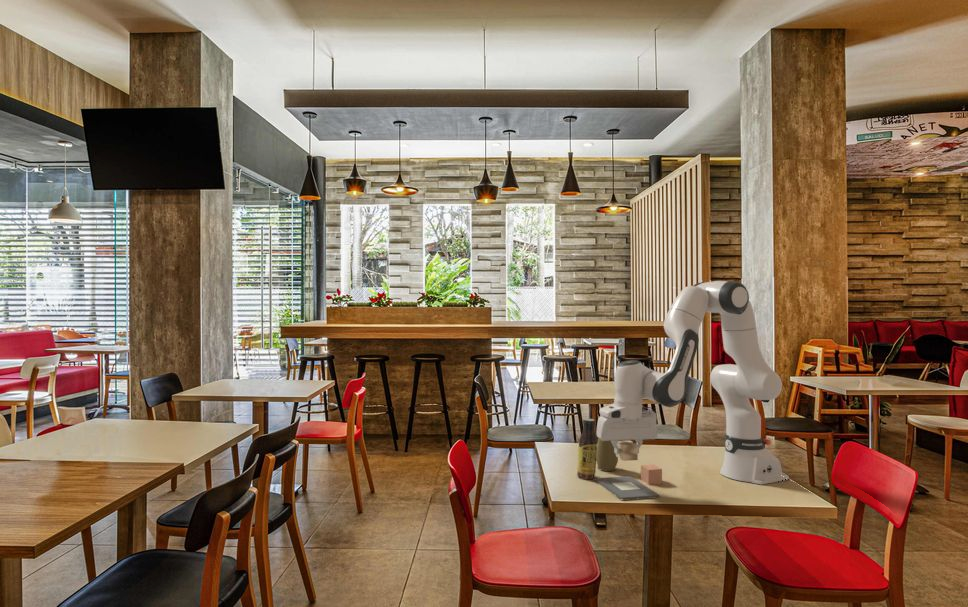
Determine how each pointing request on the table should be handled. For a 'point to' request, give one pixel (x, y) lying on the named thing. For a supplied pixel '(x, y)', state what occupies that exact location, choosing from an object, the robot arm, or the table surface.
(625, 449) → the birch block
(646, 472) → the terracotta block
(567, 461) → the table surface
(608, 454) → the squeeze bottle
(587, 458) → the sauce bottle
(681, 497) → the table surface
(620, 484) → the board
